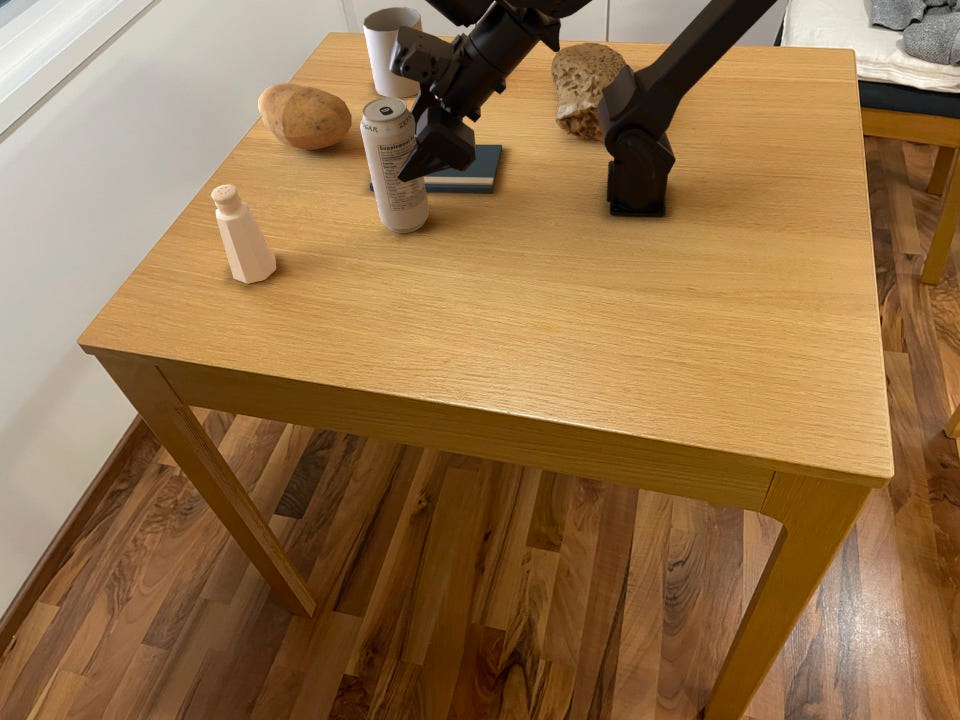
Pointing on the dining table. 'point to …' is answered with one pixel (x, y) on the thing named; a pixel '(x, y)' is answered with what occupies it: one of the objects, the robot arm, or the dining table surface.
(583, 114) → the sponge
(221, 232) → the pepper shaker
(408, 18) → the cup
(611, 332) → the dining table surface
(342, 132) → the potato
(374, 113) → the energy drink can
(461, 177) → the book
